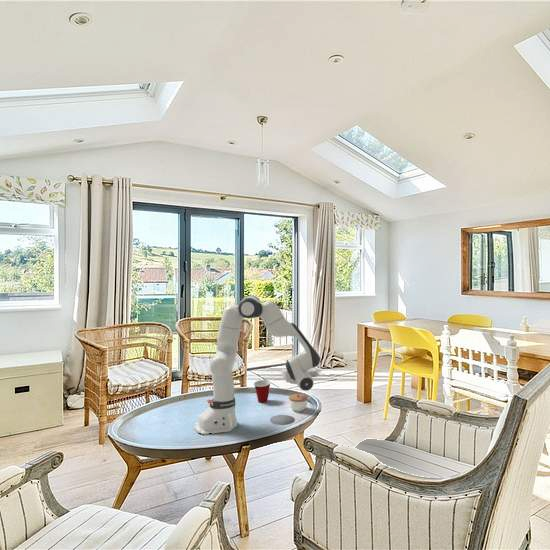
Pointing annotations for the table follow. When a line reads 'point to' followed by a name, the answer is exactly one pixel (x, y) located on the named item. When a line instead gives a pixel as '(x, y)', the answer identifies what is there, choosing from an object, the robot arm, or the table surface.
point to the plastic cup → (262, 390)
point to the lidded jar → (298, 402)
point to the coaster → (282, 420)
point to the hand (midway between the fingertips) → (297, 369)
